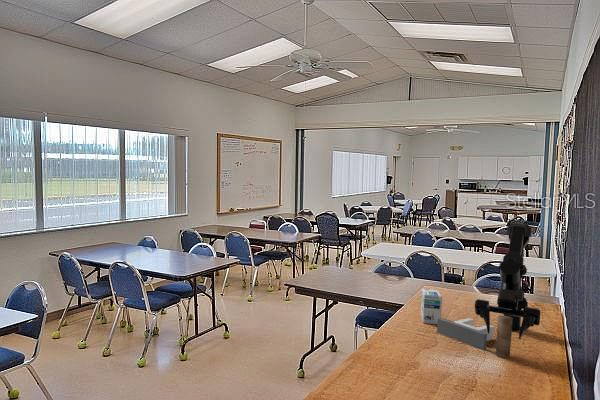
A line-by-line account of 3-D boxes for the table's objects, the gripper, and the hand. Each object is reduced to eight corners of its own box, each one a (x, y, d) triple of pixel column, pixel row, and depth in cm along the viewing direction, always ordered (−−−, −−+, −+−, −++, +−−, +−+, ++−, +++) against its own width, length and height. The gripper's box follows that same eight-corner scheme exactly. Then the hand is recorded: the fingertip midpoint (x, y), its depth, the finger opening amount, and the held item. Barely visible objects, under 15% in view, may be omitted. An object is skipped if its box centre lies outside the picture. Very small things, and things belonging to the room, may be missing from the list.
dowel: (500, 352, 145) (503, 314, 144) (512, 356, 142) (515, 318, 141) (493, 354, 143) (495, 316, 142) (505, 359, 139) (507, 320, 139)
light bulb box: (441, 325, 170) (443, 296, 169) (422, 323, 171) (424, 294, 171) (437, 316, 181) (439, 289, 180) (419, 315, 182) (421, 288, 181)
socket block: (467, 330, 165) (468, 318, 164) (493, 339, 157) (494, 326, 156) (451, 334, 160) (452, 321, 159) (477, 343, 151) (478, 330, 151)
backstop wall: (439, 332, 162) (440, 317, 162) (486, 349, 147) (487, 333, 147) (436, 332, 161) (437, 318, 161) (483, 349, 146) (484, 334, 146)
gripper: (477, 274, 149) (469, 316, 140) (542, 283, 140) (539, 328, 131) (479, 293, 156) (472, 334, 147) (541, 302, 147) (537, 347, 138)
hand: (503, 335), depth 141 cm, fingers open, 8 cm apart
